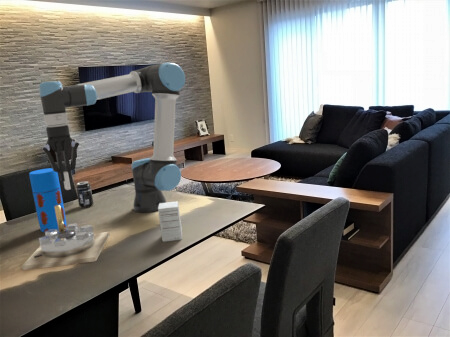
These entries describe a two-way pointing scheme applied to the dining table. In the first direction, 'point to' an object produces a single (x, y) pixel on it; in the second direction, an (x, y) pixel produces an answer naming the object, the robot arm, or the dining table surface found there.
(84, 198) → the beverage can
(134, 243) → the dining table surface
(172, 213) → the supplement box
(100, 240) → the birch base board
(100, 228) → the dining table surface
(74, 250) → the metal lathe chuck
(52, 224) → the thermos
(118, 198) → the dining table surface
